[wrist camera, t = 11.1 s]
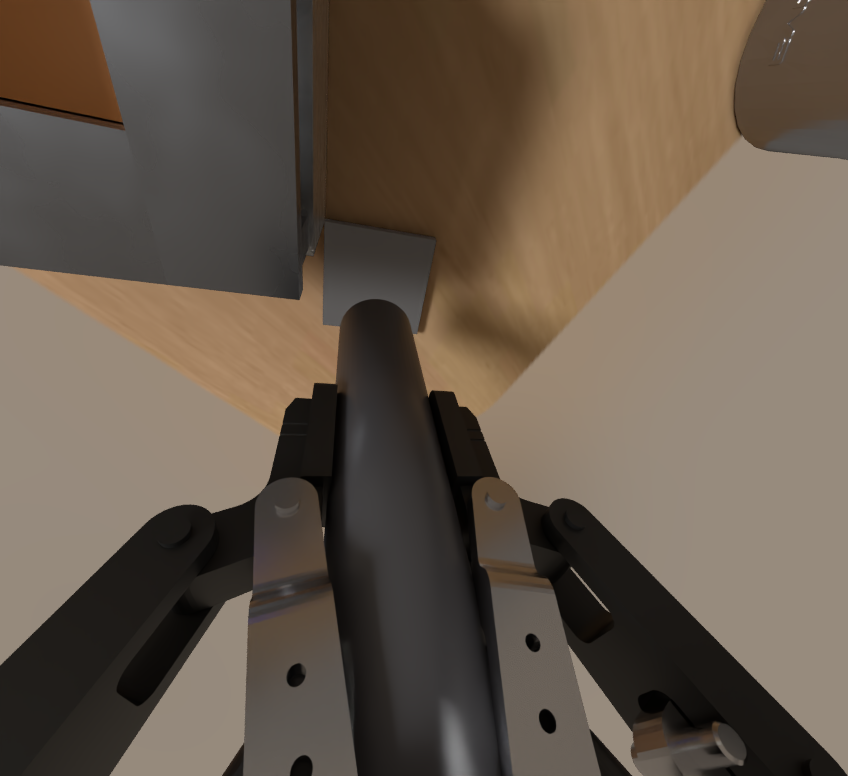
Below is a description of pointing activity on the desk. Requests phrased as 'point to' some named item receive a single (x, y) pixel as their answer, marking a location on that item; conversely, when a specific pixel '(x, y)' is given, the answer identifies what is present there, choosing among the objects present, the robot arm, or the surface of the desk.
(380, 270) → the pad
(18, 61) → the button
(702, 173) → the desk surface
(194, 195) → the grey boxy frame
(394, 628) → the handle
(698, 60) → the desk surface
